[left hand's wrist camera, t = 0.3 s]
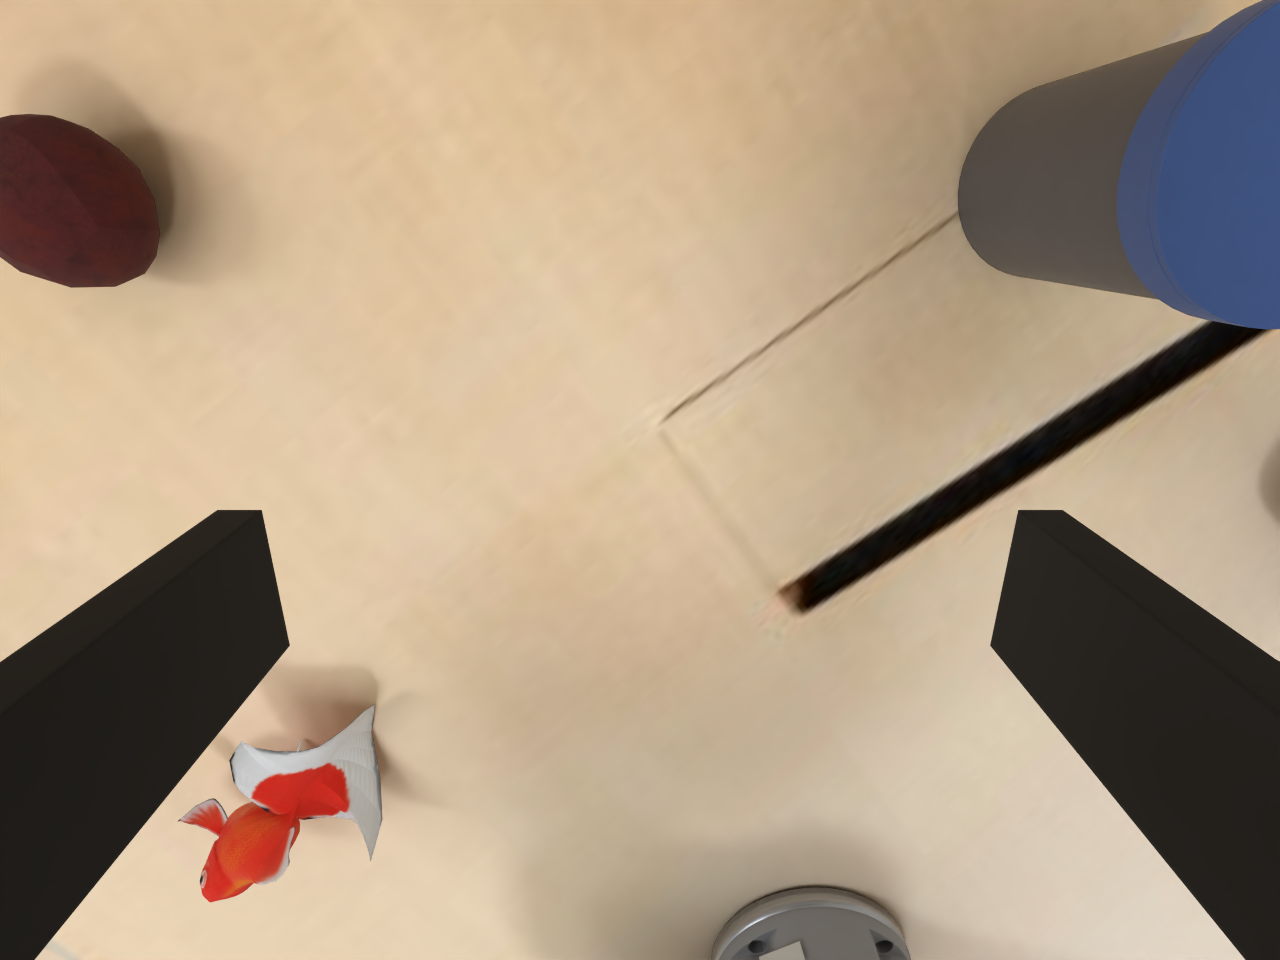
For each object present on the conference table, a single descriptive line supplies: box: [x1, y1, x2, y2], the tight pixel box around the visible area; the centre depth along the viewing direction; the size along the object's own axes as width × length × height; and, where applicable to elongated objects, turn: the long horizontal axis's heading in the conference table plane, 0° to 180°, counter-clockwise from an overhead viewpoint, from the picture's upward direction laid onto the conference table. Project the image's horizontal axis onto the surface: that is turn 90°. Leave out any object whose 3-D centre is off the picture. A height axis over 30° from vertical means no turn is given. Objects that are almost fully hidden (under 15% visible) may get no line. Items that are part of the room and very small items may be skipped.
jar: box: [958, 32, 1208, 299], centre depth 29 cm, size 9×9×15 cm
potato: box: [0, 114, 160, 287], centre depth 33 cm, size 7×8×7 cm
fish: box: [178, 704, 382, 902], centre depth 45 cm, size 11×16×10 cm
